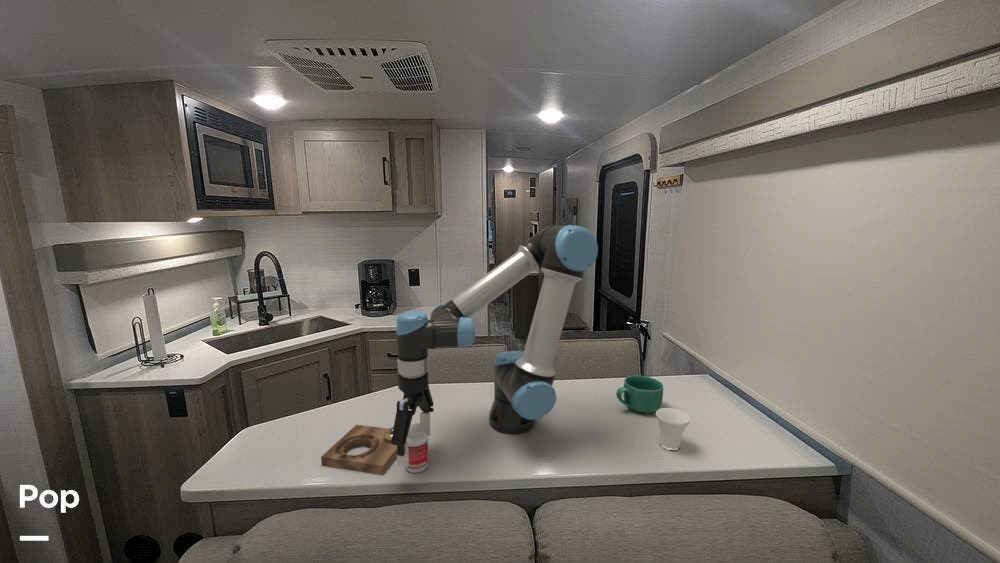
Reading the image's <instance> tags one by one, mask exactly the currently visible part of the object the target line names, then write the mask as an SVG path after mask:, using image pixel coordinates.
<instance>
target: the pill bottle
mask: <svg viewBox="0 0 1000 563" xmlns="http://www.w3.org/2000/svg"><path fill="white" fill-rule="evenodd" d="M406 441H408V452H409V466H408V467H404V468H405V470H406V471H407V472H409V473H413V474H417V473H421V472H423V471H425V470H426V469H427V468H428V466H429V459H430V457H429V438H428V436H427V434H426V433H425V427H424V425H423V424H420V422H418V423H416V422H415V423H411V424H410V428H409V432H408V436H407V440H406Z"/></svg>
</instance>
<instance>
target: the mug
mask: <svg viewBox="0 0 1000 563" xmlns="http://www.w3.org/2000/svg"><path fill="white" fill-rule="evenodd" d="M615 394H616V398H617V399H618V401H619V402H620V403H621V404H623V405H624V406H628V408H631V410H633V409H634V410H633V411H635V410H636V411H635V412H637V411H639V412H638V413H640V412H644V413H643V414H651V413H654V412H655V413H656V411H657V410H658V409H661V408H662V403H663V399H664V398H663V397H664V384H663V382H662V381H660V380H658V379H656V378H653V377H650V376H644V375H629V376H626V377H625V378H624V381H623V386H621V387H618V389H617V390H616V393H615ZM622 395H623V398H622Z"/></svg>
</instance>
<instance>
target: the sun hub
mask: <svg viewBox="0 0 1000 563" xmlns="http://www.w3.org/2000/svg"><path fill="white" fill-rule="evenodd" d="M393 428H394V426H392V427H389V428H388V430H387V431H385V432H384V440H385V441H386V442H388V443H391V440H392V434H393Z"/></svg>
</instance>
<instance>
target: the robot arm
mask: <svg viewBox="0 0 1000 563" xmlns="http://www.w3.org/2000/svg"><path fill="white" fill-rule="evenodd" d="M598 252H599V247H598V241H597V240H596V238H595V236H594V234H593V233H592V232H591V231H590V230H589V229H587V228H585V226H579V225H573V224H568V225H560V224H552V225H549V226H546V227H544V228H543V229H540V231H538V232H536V233H535V234H534V235H532V236H531V237H529V238H528V239H527V240H526V241H524V242H523V243H522V244H520V245H518V249H517V251H516V252H515V253H513V254H512V255H510V257H508V258H506V259H505V260H504V261H502V262H501V263H500V264H499V265H497V266H495V267H494V268H492V269H491V270H490V271H489V272H488V273H486V274H485V275H483V276H482V277H481V278H479V279H477V280H476V281H475V282H474V283H472V284H471V285H470V286H468V287H467V288H466V289H464V290H462V291H461V292H459V293H458V294H457V295H455V297H453V298H452V299H450V300H449V301H447V302H446V303H444V304H438V305H437V306H434V307H433V309H432V310H431V312H430V315H429V318H428V314H427V313H425V312H423V311H415V310H413V311H412V310H410V311H406V312H401V313H400V314H399V315H398V316H397V318H396V349H397V350H396V351H397V355H396V356H397V359H396V362H397V372H398V375H397V384H398V385H397V387H398V389H399V390H400V391H401V392H402V393H403V398H402V400H397V401H396V412H395V413H396V414H395V416H394V424H393V427H394V428H393V434H392V440H391V444H392V445H397V458H396V466H398V467H404V468H405V467H408V466H409V452H408V441H406V440H407V436H408V432H409V428H410V425H411V424H412V420H413V417H414V415H415V414H416V412H417V408H418V409H420V413H419V423H420V424H423V425H424V427H425V433H426V434H427V436H429V437H430V435H431V413H433V412H434V407H433V406H434V399H433V397H432V393H431V389H430V386H429V372H428V371H429V355H428V354H429V353H428V351H429V350H439V349H452V348H453V349H454V348H460V349H461V348H465V347H469V346H472V345H473V344H474V343H475V341H476V340H475V339H476V327H475V326H476V325H475V324H474V323H475V322H474V320H473V318H471V317H473V316H474V315H476V313H478V312H480V311H481V310H482V309H483V308H485V307H486V306H488V305H489V304H490V303H492V302H493V301H494V300H496V299H497V298H498V297H500V296H501V295H502V294H503V293H505V292H506V291H508V290H509V289H511V288H512V287H513V286H516V284H517V283H519V282H520V281H521V280H522V279H524V278H526V276H528V275H530V274H531V273H532V272H535V273H536V272H537V273H538V272H539V271H541V272H542V273H543V275H544V276H543V280H542V285H541V289H540V291H539V294H538V299H537V303H536V307H535V311H534V313H533V317H532V322H531V325H530V329H529V333H528V336H527V339H526V344H525V346H524V351H521V350H512V351H511V350H510V351H509V350H507V351H504V352H500V353H497V354H496V355H495V356H494V362H493V368H494V370H493V371H494V372H493V374H494V375H493V378H494V379H493V380H494V384H493V385H494V386H493V387H494V392H493V393H494V395H493V396H494V398H493V401H492V405H491V408H490V411H489V414H488V421H489V422H488V423H489V425H490V427H491V428H493V430H495V431H497V432H500V433H503V434H507V435H518V434H523V433H527V432H529V431H531V430H532V429H533V428H534V427H535V426H536V423H537V421H536V420H538V419H539V420H540V419H541V418H543V417H544V416H547V415H548V414H549V413H550V412H551V411H552V410H553V409H554V407H555V405H556V401H557V394H556V390H555V388H554V387H553V384H554V381H555V377H556V370H555V369H554V367H553V364H554V359H555V356H556V353H557V349H558V346H559V343H560V339H561V335H562V332H563V328H564V324H565V321H566V317H567V314H568V311H569V306H570V303H571V300H572V296H573V292H574V289H575V285H576V284H577V283H578V282H580V281H582V280H583V278H584V274H585V271H586V270H588V269H589V268H590V267H592V266H593V265H594V263H595V262H596V260H597V258H598Z"/></svg>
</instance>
